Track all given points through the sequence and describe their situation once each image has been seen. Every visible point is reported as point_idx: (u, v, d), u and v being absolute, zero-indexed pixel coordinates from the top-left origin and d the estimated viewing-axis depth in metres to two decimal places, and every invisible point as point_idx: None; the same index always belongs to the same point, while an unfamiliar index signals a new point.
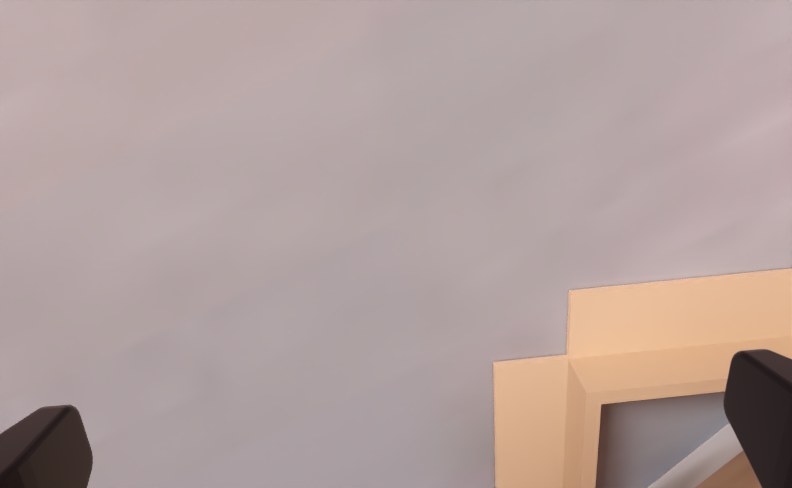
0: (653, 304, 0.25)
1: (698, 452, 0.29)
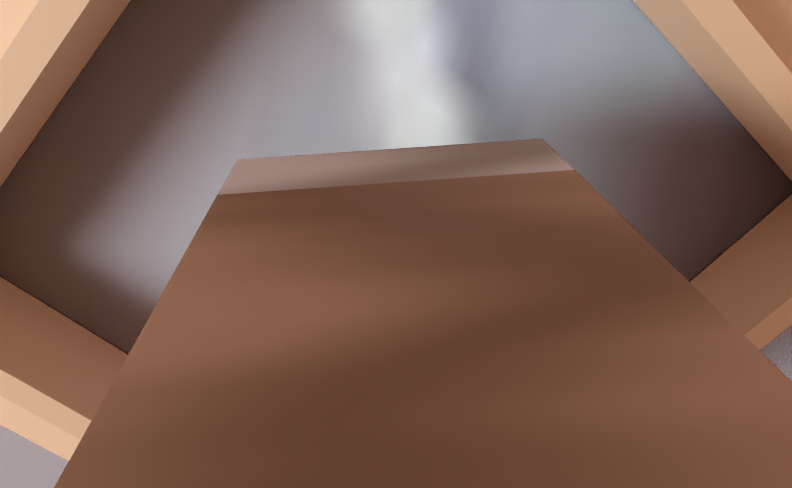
0: None
1: None
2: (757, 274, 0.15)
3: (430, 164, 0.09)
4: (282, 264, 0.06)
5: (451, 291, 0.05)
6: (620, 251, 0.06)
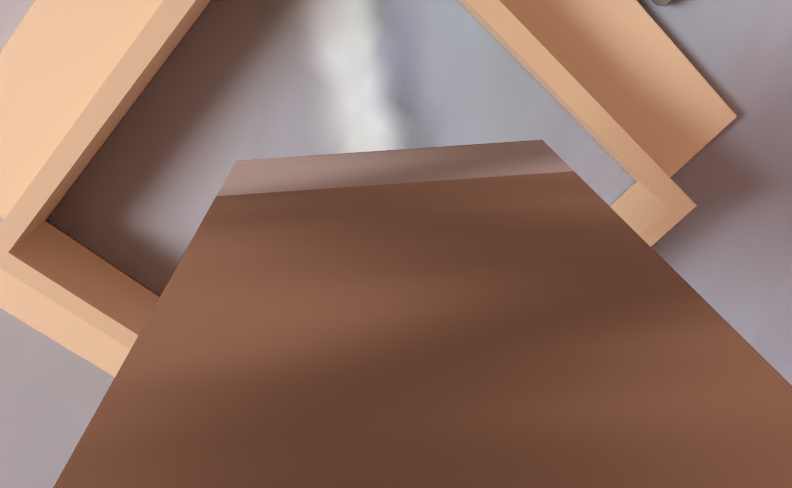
0: (3, 105, 0.19)
1: None
2: None
3: (428, 165, 0.09)
4: (280, 265, 0.06)
5: (449, 292, 0.05)
6: (619, 253, 0.06)
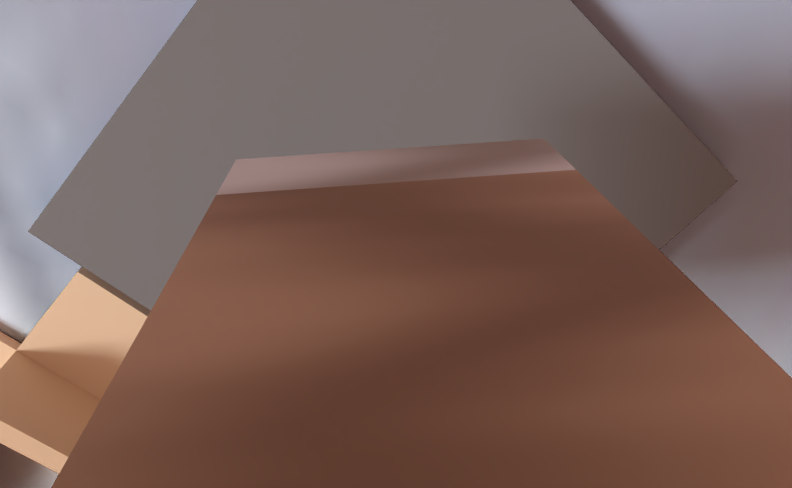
0: None
1: None
2: None
3: (429, 164, 0.09)
4: (281, 264, 0.06)
5: (452, 292, 0.05)
6: (623, 251, 0.06)
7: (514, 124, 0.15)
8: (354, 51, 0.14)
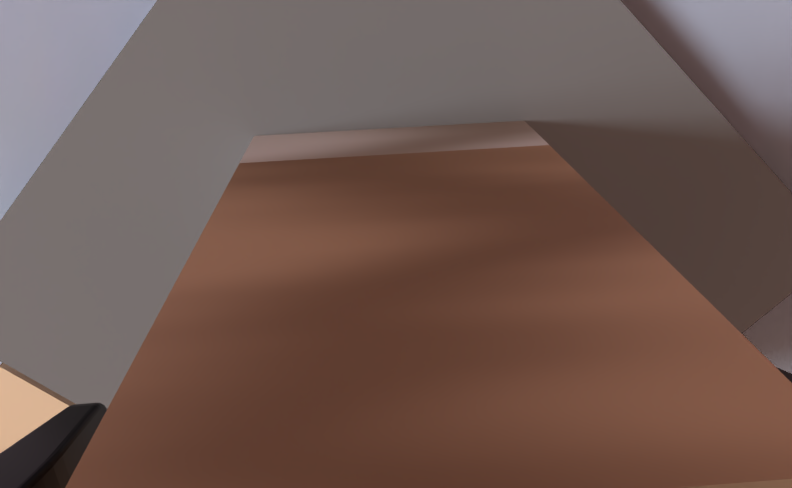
0: None
1: None
2: None
3: (423, 140, 0.10)
4: (298, 214, 0.07)
5: (438, 232, 0.07)
6: (579, 204, 0.07)
7: None
8: (352, 91, 0.10)
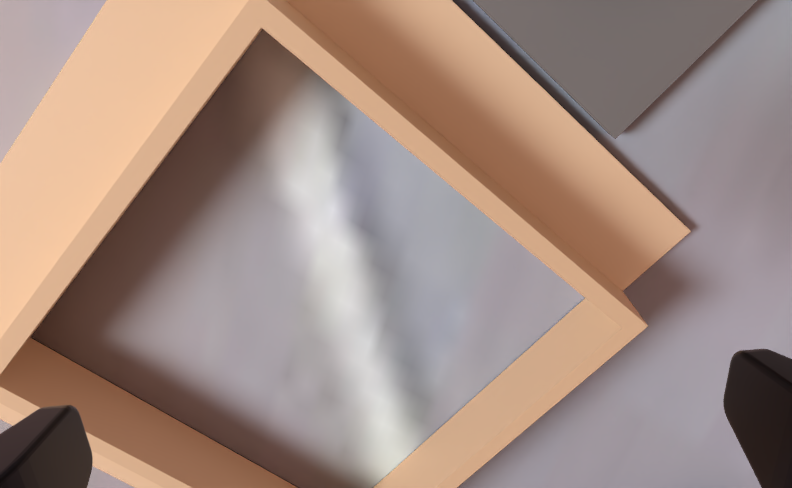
0: None
1: None
2: (562, 349, 0.22)
3: None
4: None
5: None
6: None
7: None
8: None
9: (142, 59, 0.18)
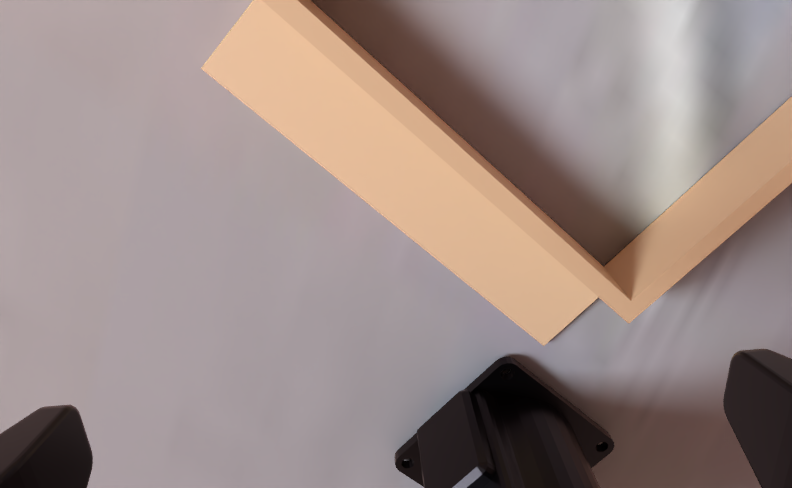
0: None
1: None
2: None
3: None
4: None
5: None
6: None
7: None
8: None
9: None
